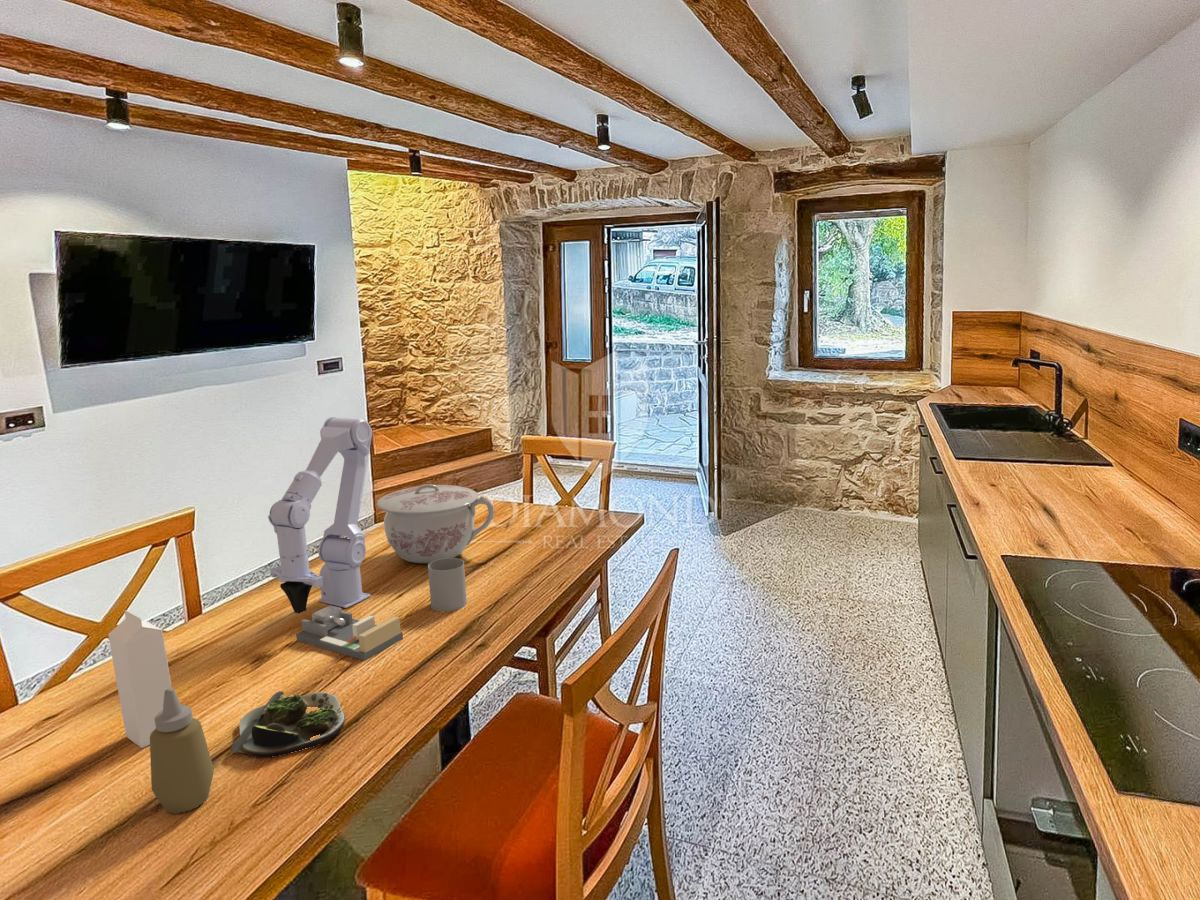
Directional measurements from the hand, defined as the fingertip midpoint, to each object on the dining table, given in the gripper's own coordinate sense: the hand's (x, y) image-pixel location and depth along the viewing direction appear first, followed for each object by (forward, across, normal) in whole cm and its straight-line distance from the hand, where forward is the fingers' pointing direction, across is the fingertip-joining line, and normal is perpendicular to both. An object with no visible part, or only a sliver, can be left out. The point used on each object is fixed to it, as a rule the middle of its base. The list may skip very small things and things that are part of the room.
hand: (300, 611), depth 170 cm
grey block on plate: (+2, +10, 0) cm, 10 cm away
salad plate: (+4, +32, -29) cm, 43 cm away
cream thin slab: (+1, +20, -1) cm, 20 cm away
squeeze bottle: (+4, +34, -49) cm, 60 cm away
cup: (+4, +22, +24) cm, 33 cm away
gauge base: (+3, +15, 0) cm, 15 cm away
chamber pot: (+4, -4, +48) cm, 48 cm away
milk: (+4, +12, -41) cm, 43 cm away
